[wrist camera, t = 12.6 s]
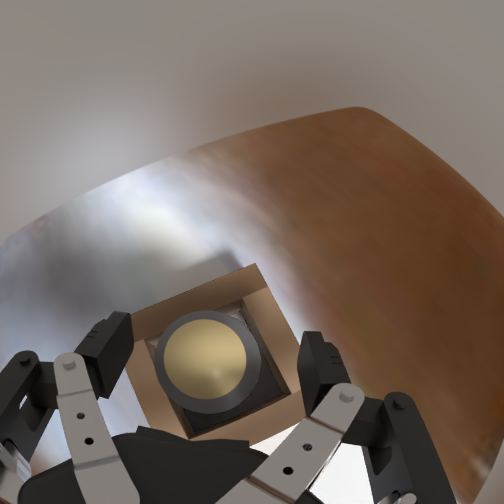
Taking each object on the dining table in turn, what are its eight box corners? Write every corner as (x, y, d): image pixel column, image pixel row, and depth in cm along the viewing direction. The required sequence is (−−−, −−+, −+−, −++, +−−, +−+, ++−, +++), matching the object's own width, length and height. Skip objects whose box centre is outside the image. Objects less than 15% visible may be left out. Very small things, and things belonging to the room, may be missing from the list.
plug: (178, 358, 18) (131, 327, 10) (231, 335, 19) (233, 285, 11) (202, 411, 17) (176, 432, 8) (257, 387, 18) (284, 386, 9)
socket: (125, 332, 19) (109, 322, 16) (252, 279, 21) (255, 262, 19) (183, 462, 15) (175, 474, 12) (317, 402, 18) (331, 404, 15)
